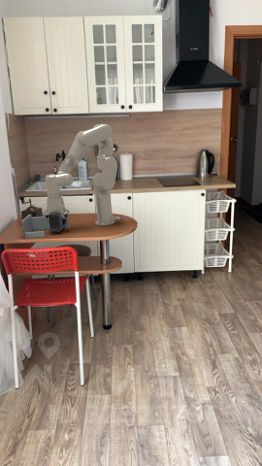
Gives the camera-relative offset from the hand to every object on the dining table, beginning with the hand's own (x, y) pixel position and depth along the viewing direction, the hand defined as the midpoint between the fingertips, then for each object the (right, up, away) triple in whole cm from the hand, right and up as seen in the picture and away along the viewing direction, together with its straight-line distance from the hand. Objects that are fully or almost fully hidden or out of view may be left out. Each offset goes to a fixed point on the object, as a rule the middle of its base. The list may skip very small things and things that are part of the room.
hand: (57, 224), depth 226 cm
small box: (0, -3, +1) cm, 3 cm away
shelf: (-7, -5, +2) cm, 8 cm away
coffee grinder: (-24, +2, +28) cm, 37 cm away
